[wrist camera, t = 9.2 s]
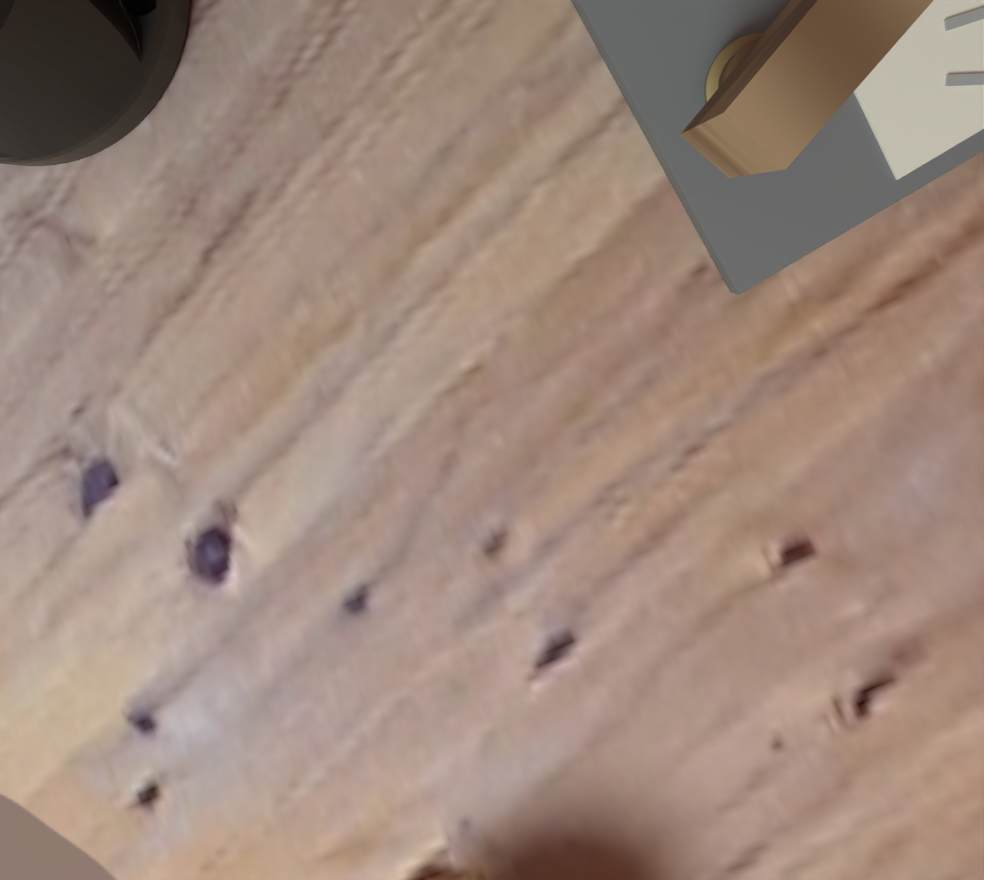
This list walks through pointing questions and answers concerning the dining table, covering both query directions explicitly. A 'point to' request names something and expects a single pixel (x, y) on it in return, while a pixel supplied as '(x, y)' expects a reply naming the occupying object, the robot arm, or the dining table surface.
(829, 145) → the tuner board
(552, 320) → the dining table surface
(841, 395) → the dining table surface
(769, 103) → the wooden pointer lever
